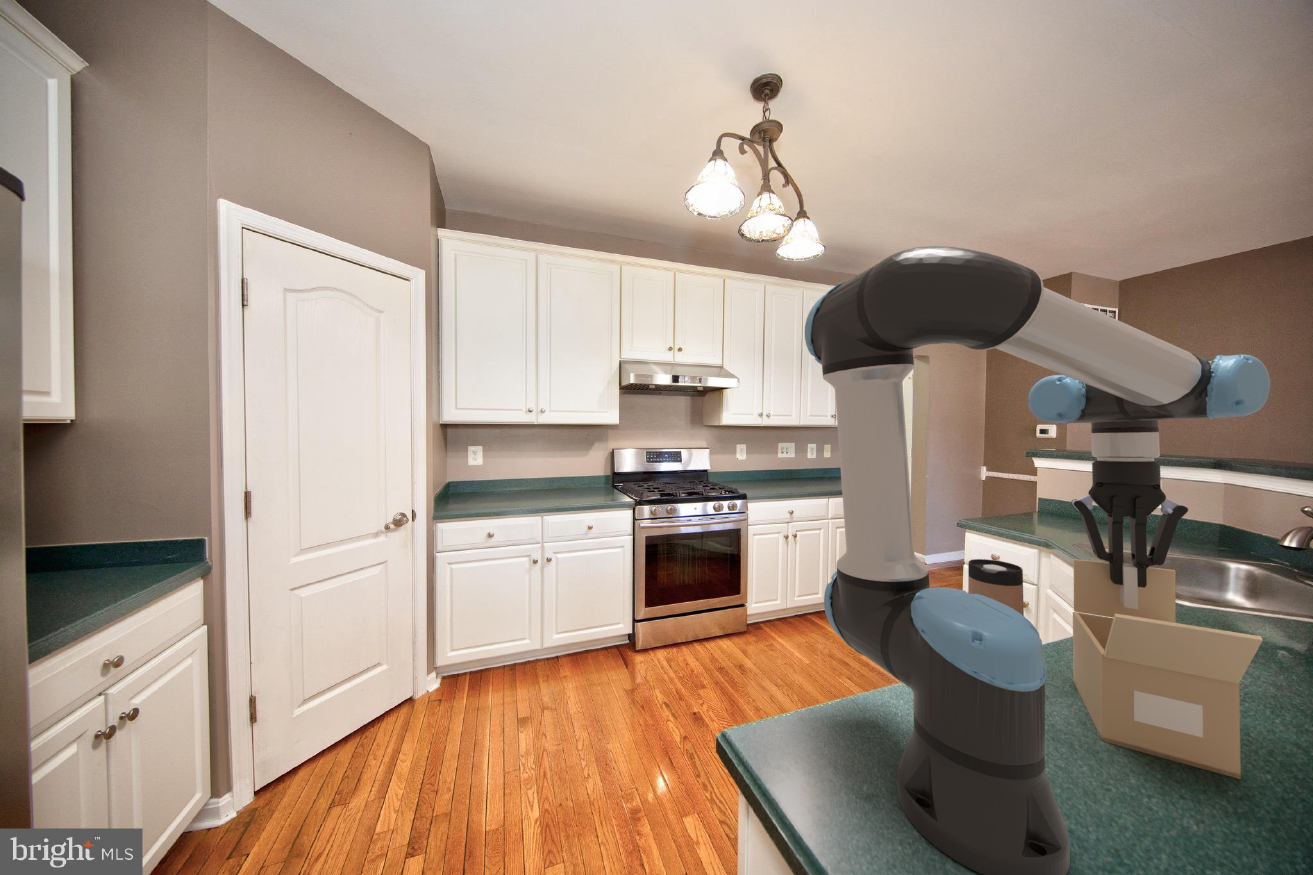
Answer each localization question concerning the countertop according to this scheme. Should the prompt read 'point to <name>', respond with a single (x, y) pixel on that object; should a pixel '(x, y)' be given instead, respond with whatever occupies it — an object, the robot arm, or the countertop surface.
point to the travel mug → (997, 582)
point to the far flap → (1103, 595)
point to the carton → (1156, 704)
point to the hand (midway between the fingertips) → (1128, 605)
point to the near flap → (1181, 647)
